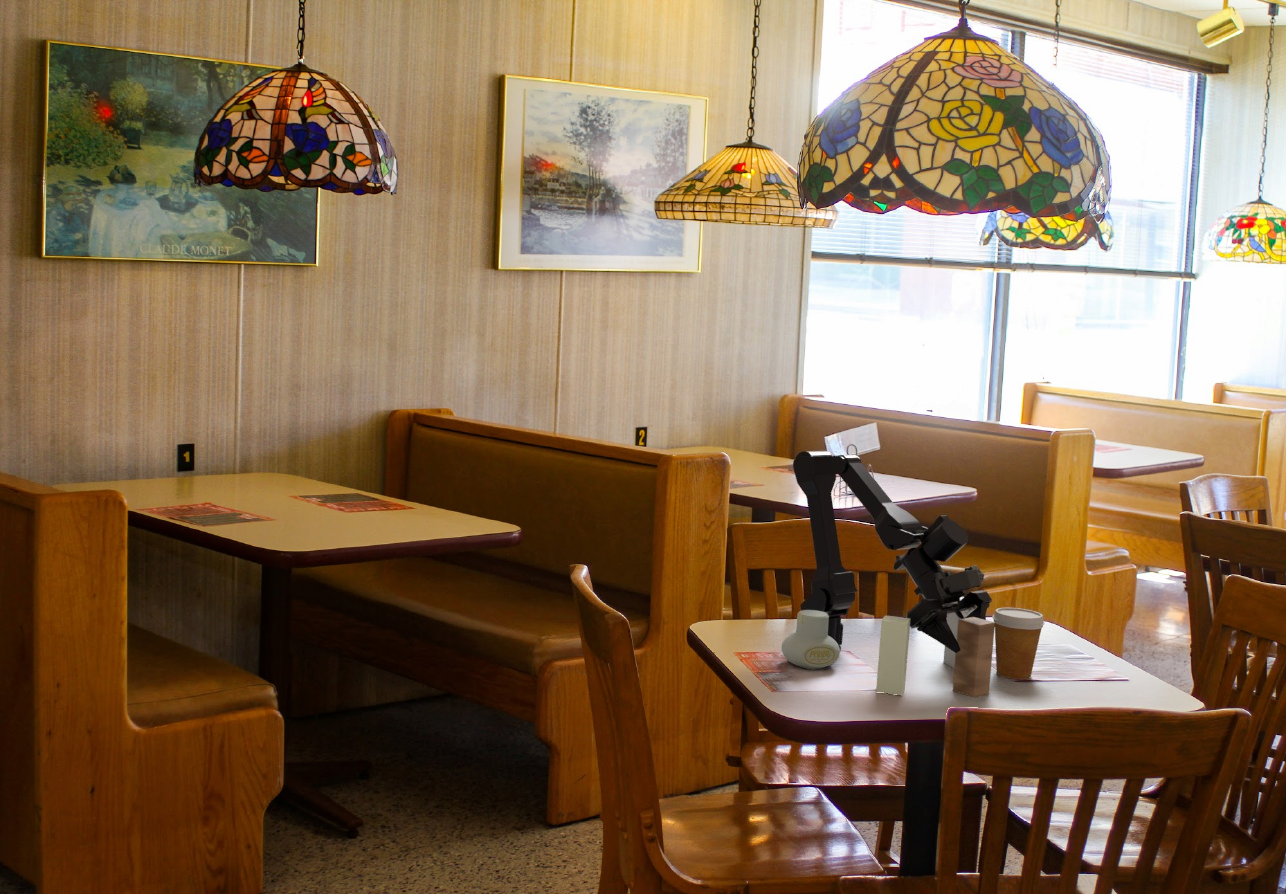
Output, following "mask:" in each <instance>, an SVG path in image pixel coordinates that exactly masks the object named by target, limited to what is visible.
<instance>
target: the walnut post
mask: <svg viewBox="0 0 1286 894" xmlns="http://www.w3.org/2000/svg"><path fill="white" fill-rule="evenodd" d="M994 641H995V622H994V621H990V620H988V619H986V620H984V619H980V618H976V617H971V618H965V619H959V623H958V635H957V642H958V644H959V647H960V649H961V650H960V651H959V652H958V653H956V658H955V669H954V674H953V685H952V691H953V692H956V693H960V694H963V695H965V696H968V697H973V698H975V697H980V696H984V695H988V694H990V684H991V683H990V681H991V673H992V661H993V649H994Z"/></svg>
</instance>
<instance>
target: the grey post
mask: <svg viewBox="0 0 1286 894" xmlns="http://www.w3.org/2000/svg"><path fill="white" fill-rule="evenodd" d="M964 597H965V596H963V597H960V600H962V599H963V598H964ZM959 619H961V618H959V617H958V616H957V615H956V613H955V612H954V613H948V614H947V623H948V625H949V627H950V629H951V631H952V633H953V634H954V636H955V638H956V640H957V635H958V623H959ZM943 650H944V651H943V661H942V662H943V663H944V664H946V665H947V666H949V667H951V668H952V669H954V670H955V658H956V653H955V652H953V651H952V650H950V649H949V648H947V647H946V646H944V649H943Z"/></svg>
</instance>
